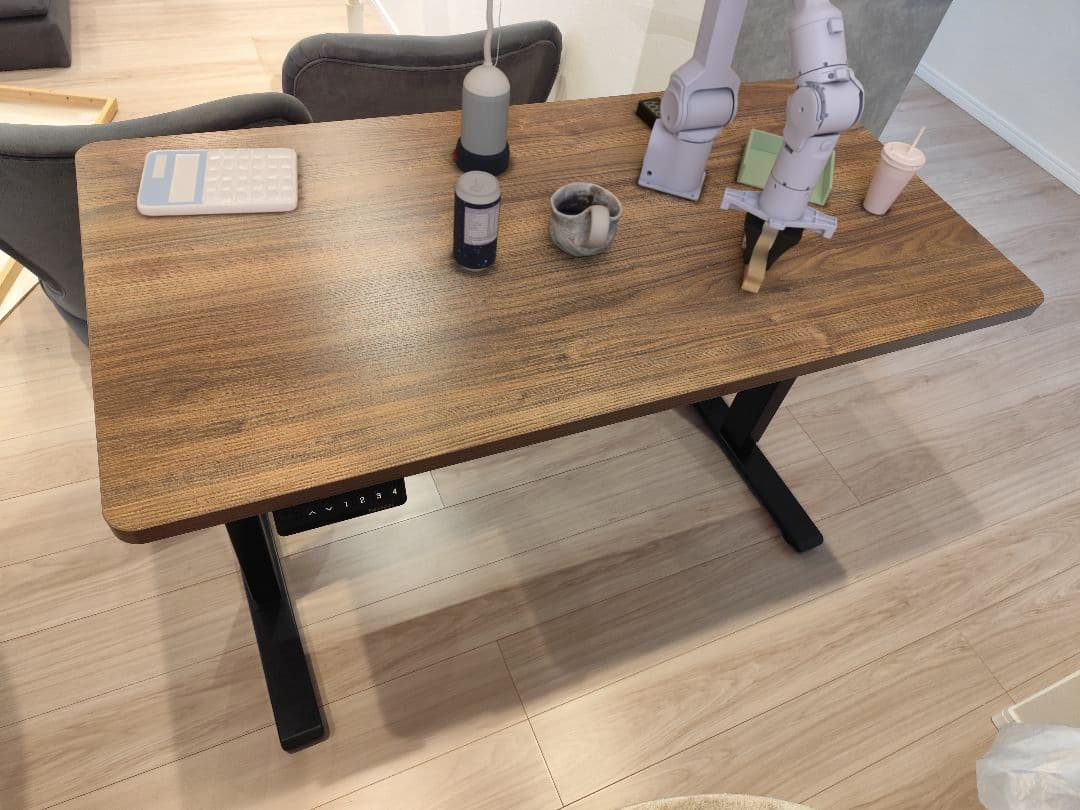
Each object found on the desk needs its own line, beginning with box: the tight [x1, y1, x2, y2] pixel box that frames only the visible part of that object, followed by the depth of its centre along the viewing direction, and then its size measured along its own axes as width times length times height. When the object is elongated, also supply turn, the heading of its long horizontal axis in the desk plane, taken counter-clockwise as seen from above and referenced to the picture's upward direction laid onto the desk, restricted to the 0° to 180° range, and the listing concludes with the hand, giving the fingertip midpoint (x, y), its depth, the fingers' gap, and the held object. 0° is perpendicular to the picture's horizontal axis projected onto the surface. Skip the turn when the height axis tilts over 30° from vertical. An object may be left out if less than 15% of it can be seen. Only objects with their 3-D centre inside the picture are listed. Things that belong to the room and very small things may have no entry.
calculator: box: [136, 147, 299, 217], centre depth 100 cm, size 13×20×2 cm, turn 102°
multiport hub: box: [635, 96, 662, 131], centre depth 123 cm, size 4×11×2 cm, turn 28°
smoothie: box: [862, 125, 927, 216], centre depth 111 cm, size 6×6×14 cm
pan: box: [736, 128, 836, 206], centre depth 121 cm, size 20×14×3 cm
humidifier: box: [452, 0, 511, 177], centre depth 102 cm, size 8×8×25 cm
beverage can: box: [452, 171, 502, 272], centre depth 93 cm, size 6×6×12 cm
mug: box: [547, 181, 624, 257], centre depth 97 cm, size 10×12×10 cm
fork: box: [740, 221, 779, 294], centre depth 103 cm, size 17×4×3 cm, turn 163°
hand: (756, 263), depth 100 cm, fingers closed on fork, 2 cm apart
